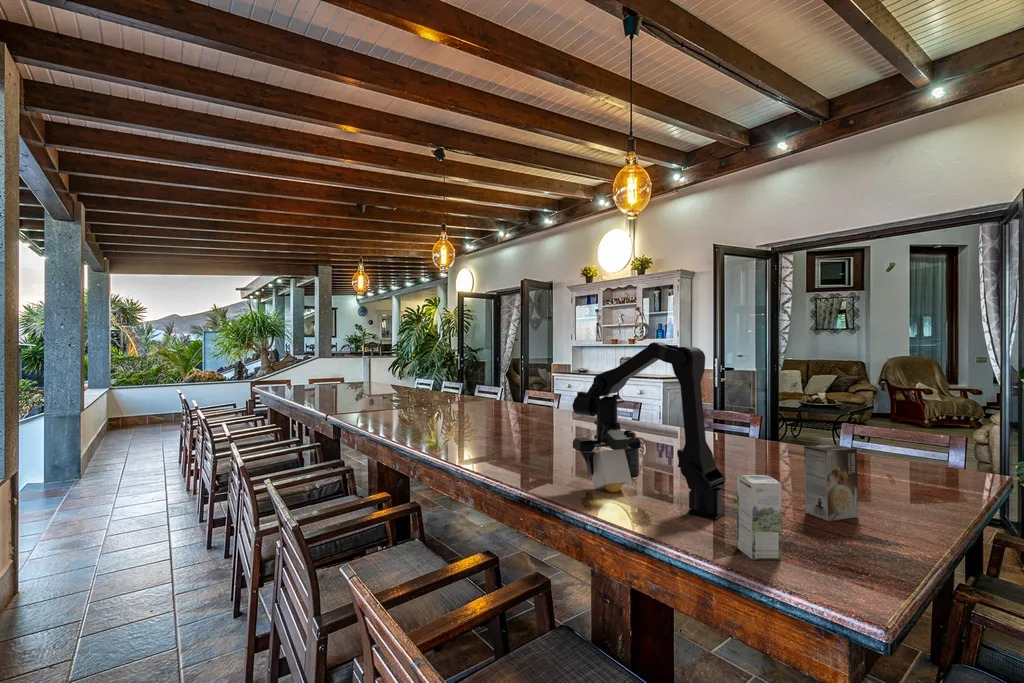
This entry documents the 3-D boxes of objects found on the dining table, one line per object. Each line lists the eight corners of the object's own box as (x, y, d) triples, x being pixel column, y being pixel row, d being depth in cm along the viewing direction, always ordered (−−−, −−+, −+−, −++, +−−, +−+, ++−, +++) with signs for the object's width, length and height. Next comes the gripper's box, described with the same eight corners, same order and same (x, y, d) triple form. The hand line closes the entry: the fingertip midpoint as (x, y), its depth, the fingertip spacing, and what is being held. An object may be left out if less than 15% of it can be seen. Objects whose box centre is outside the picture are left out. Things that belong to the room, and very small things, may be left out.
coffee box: (834, 509, 118) (833, 443, 118) (859, 518, 112) (858, 448, 112) (804, 512, 115) (803, 445, 116) (828, 521, 109) (827, 450, 109)
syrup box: (764, 547, 95) (764, 473, 95) (782, 560, 89) (782, 481, 89) (736, 548, 95) (735, 473, 95) (752, 561, 89) (751, 482, 89)
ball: (620, 472, 135) (623, 491, 133) (602, 474, 135) (605, 492, 134) (620, 472, 130) (623, 492, 128) (602, 474, 131) (604, 493, 129)
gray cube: (618, 486, 137) (611, 455, 141) (631, 481, 130) (624, 449, 134) (594, 489, 135) (588, 457, 138) (606, 483, 128) (599, 451, 132)
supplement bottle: (637, 471, 154) (637, 434, 154) (640, 477, 147) (640, 438, 147) (615, 471, 155) (615, 433, 155) (618, 476, 148) (617, 437, 148)
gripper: (589, 423, 125) (589, 484, 125) (652, 421, 131) (652, 478, 130) (571, 418, 136) (571, 473, 135) (630, 415, 141) (630, 469, 141)
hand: (606, 473), depth 135 cm, fingers open, 9 cm apart
